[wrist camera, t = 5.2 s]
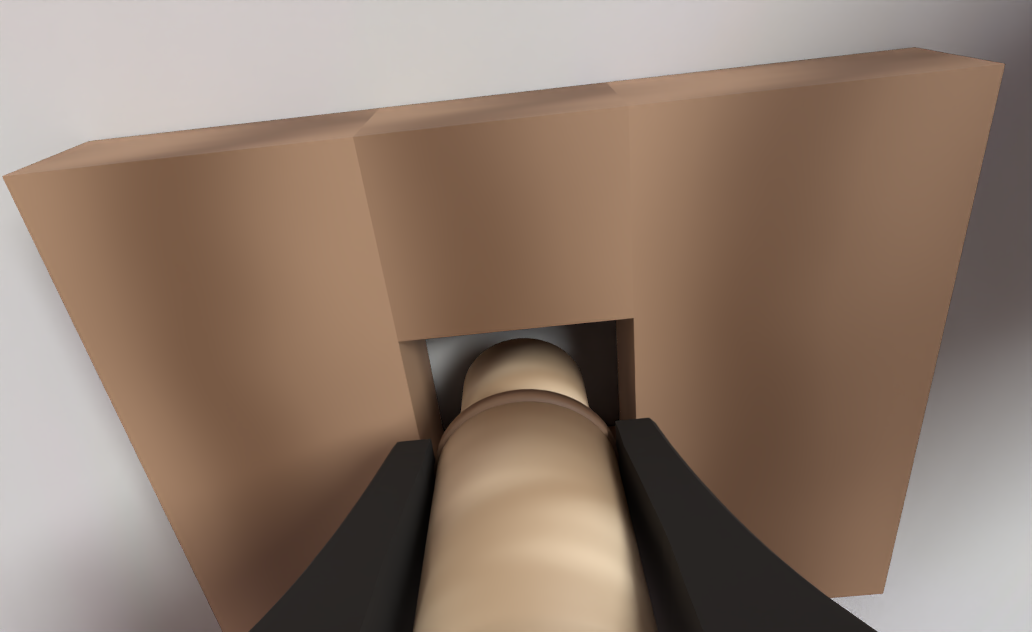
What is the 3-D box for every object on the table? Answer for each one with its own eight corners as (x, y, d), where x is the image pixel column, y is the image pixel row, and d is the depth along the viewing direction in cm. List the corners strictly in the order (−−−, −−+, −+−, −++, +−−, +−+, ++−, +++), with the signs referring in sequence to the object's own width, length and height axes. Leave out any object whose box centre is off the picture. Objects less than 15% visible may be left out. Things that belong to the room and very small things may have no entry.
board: (914, 47, 12) (1004, 63, 10) (835, 516, 18) (882, 593, 16) (89, 141, 13) (1, 176, 11) (263, 567, 18) (230, 648, 16)
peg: (598, 316, 13) (681, 604, 7) (602, 448, 15) (674, 784, 8) (437, 329, 13) (375, 626, 7) (456, 458, 15) (419, 799, 8)
